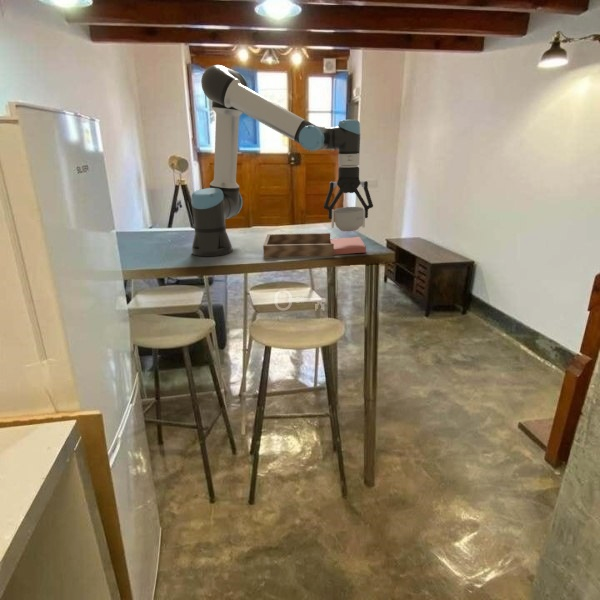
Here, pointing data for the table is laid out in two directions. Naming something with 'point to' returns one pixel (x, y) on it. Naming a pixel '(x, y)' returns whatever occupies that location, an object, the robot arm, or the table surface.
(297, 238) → the crate
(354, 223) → the teacup
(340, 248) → the pink flat slab
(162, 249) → the table surface
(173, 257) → the table surface
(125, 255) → the table surface
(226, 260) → the table surface
